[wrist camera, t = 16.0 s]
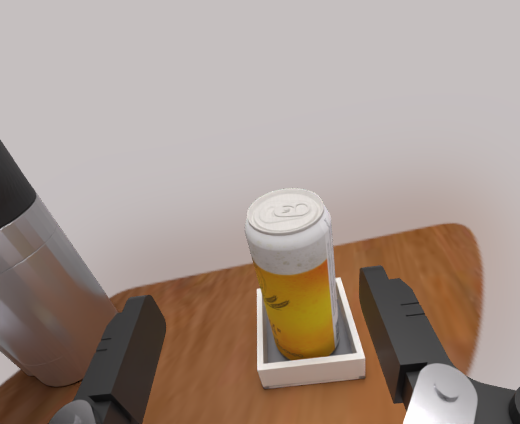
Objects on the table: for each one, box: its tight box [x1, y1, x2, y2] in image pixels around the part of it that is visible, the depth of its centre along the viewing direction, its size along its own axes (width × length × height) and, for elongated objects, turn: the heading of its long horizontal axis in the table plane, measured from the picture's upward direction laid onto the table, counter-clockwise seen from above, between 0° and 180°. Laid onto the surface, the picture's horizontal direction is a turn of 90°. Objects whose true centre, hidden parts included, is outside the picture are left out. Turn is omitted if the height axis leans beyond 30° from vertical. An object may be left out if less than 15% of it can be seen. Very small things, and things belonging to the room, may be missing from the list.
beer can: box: [245, 188, 339, 361], centre depth 25 cm, size 6×6×15 cm
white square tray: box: [257, 278, 365, 389], centre depth 29 cm, size 9×9×3 cm
